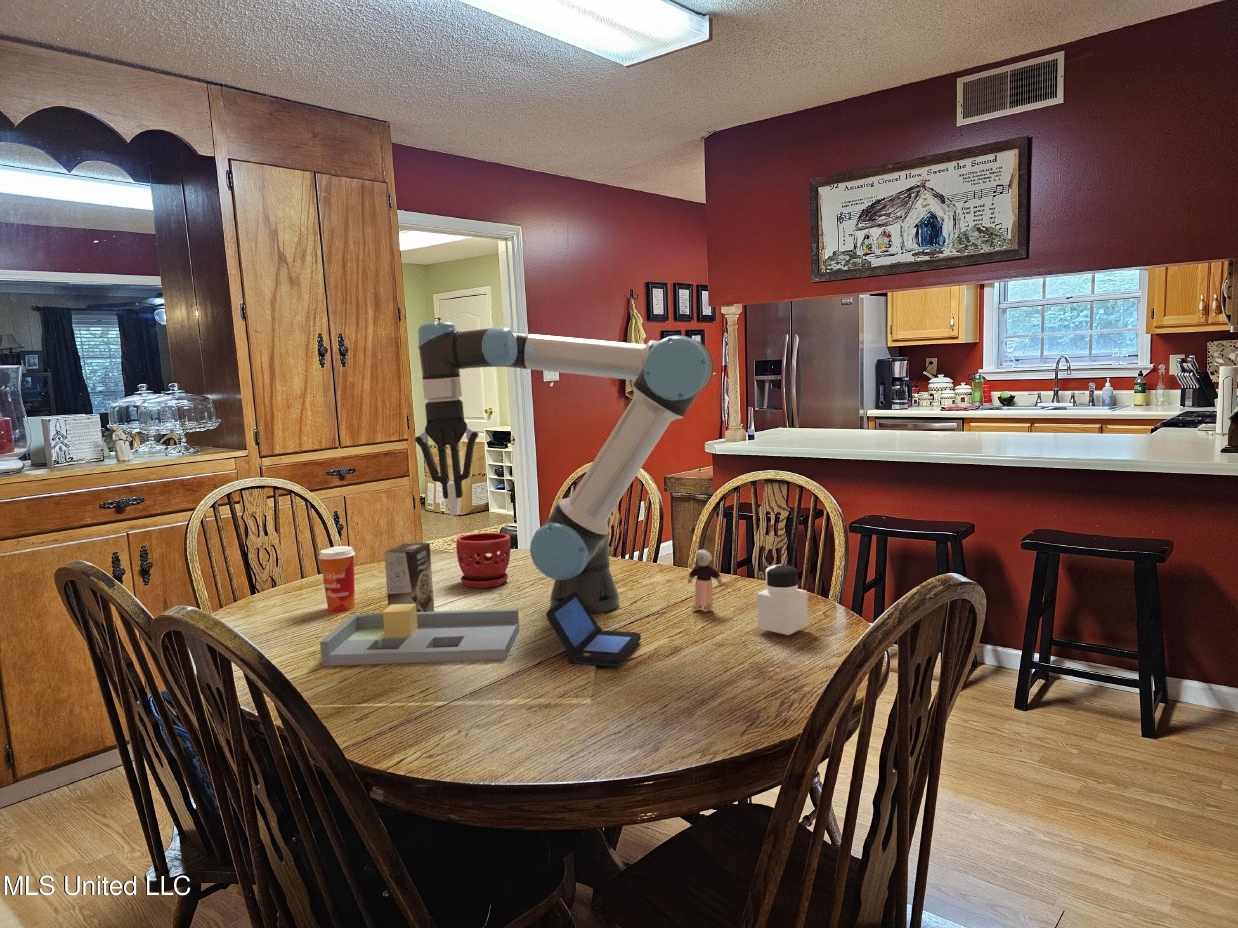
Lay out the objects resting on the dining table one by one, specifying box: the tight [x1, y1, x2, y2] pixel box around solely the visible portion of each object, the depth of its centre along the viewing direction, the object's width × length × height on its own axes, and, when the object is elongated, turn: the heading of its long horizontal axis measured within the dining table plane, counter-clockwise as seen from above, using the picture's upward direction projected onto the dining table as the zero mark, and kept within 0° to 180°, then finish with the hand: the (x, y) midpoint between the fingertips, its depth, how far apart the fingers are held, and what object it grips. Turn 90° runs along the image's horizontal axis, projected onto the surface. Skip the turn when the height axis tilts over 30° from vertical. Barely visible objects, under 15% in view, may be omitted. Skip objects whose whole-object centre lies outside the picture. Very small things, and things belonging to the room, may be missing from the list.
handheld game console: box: [545, 592, 642, 667], centre depth 147 cm, size 16×13×9 cm
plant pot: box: [455, 532, 511, 589], centre depth 198 cm, size 13×13×12 cm
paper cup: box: [318, 545, 356, 613], centre depth 180 cm, size 8×8×14 cm
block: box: [382, 604, 418, 638], centre depth 156 cm, size 5×5×5 cm
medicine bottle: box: [756, 564, 809, 636], centre depth 155 cm, size 7×7×12 cm
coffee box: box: [384, 542, 435, 612], centre depth 169 cm, size 9×6×16 cm
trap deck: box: [319, 608, 520, 667], centre depth 153 cm, size 34×16×4 cm, turn 88°
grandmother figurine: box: [686, 549, 724, 611], centre depth 169 cm, size 8×4×13 cm, turn 76°
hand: (454, 513), depth 166 cm, fingers closed
